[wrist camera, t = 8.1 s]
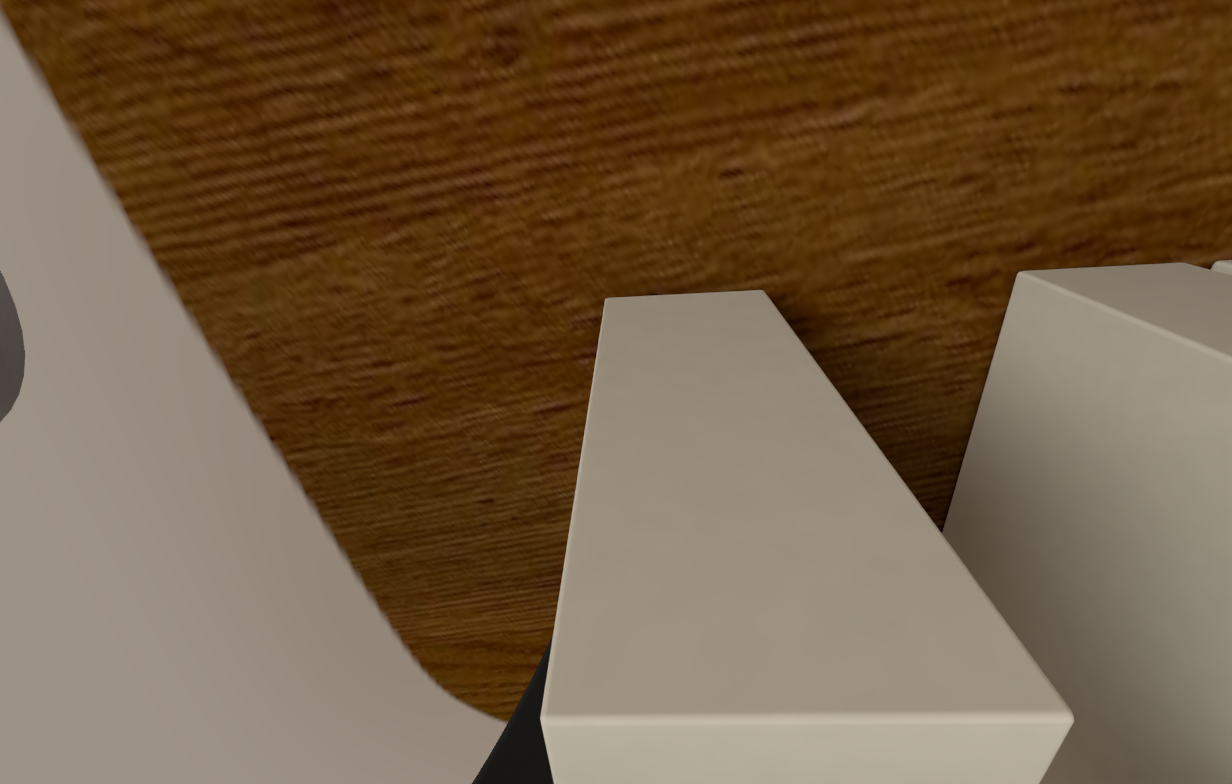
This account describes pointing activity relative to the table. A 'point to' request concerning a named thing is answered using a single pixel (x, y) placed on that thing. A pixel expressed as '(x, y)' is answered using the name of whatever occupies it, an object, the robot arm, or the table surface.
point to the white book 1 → (766, 582)
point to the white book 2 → (1113, 512)
